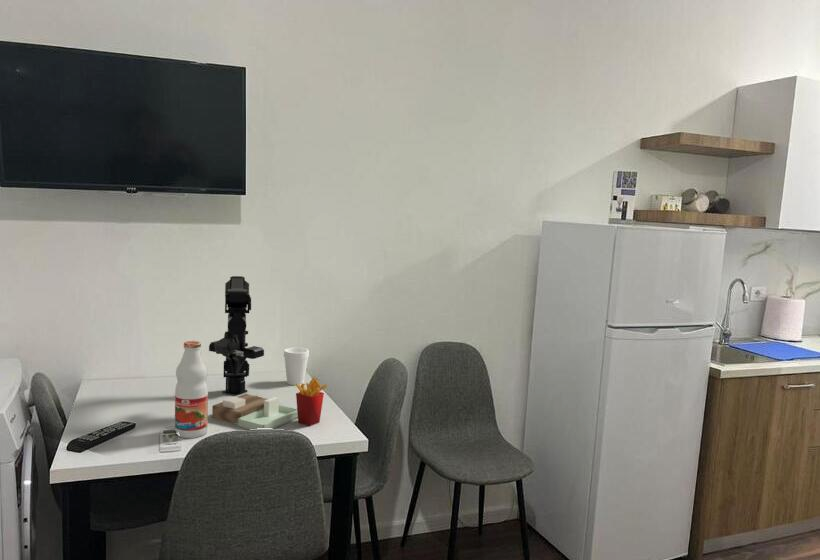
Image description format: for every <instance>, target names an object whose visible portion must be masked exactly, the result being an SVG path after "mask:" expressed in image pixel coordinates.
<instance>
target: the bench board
mask: <svg viewBox="0 0 820 560" xmlns="http://www.w3.org/2000/svg"><path fill="white" fill-rule="evenodd" d="M237 397H238V398H242V399H245V405H244V406H242V407H239V408H236V409H232V408H228V407H224V406H223V401H222V402H218V403H216V404H213V405H212V406H211V407H212V409H211V410H212V418H213V419H217V420H221V421H225V422H227V423H231V424H235V423H236V425H238V418H241V417H243V416H246V415H248V414H251V413H253V412H256V411H258V410H261V409H264V401H265V400H267V399H268V398H265V397H263V396H262V397H261V396H257V395H252V394H249V393H245V394H240V395H239V396H238V395H237Z"/></svg>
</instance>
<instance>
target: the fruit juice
mask: <svg viewBox="0 0 820 560" xmlns="http://www.w3.org/2000/svg"><path fill="white" fill-rule="evenodd" d="M201 348H202V342H201V341H198V340H190V341H184V343H183V349H184V351H183V354H182V358H181V360H180V361H179V364H178V365H177V367H176V369H175V376H176V381H177V383H176V385H175V390H174V391H175V392H174V432H175V431H178V432H179V434H180V436H181V437H180V438H183V439H195V438H200V437H203V436H205V435H206V434H207V432H208V427H209V425H208V424H209V422H208V419H209V417H208V414H209V413H208V412H209V386H208V385H209V384H208V382H207V378H208V373H209V369H208V366H207V365H206V363H205V361H204V358H203V356H202V354H201V353H202V351H201Z"/></svg>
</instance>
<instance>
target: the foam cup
mask: <svg viewBox="0 0 820 560" xmlns="http://www.w3.org/2000/svg"><path fill="white" fill-rule="evenodd" d="M309 354H310V350H309V349H308V348H305V347H288V348H285V349H284V350H283V357H284V364H285V365H284V367H285V374H286V375H285V377H286V383H287V385H290V386H296V384H297V383H298V384H299V385H300V386H301V384H302V383H303V384H305V377H306V370H307V365H308V360H309V356H310V355H309Z"/></svg>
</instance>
